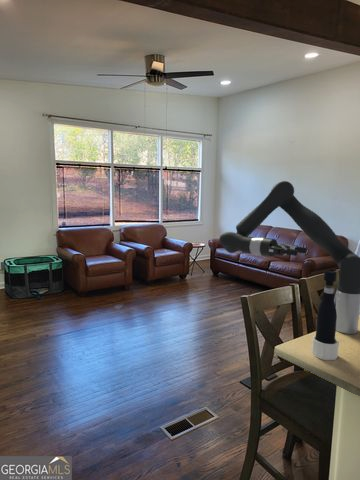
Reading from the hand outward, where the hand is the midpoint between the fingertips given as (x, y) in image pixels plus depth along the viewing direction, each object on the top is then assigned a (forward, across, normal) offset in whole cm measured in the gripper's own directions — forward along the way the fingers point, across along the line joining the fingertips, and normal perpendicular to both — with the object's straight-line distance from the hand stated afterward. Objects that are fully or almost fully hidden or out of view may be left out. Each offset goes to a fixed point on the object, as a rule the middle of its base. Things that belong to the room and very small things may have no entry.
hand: (302, 251), depth 131 cm
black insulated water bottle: (+12, -3, +35) cm, 37 cm away
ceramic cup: (+12, -3, +36) cm, 38 cm away
